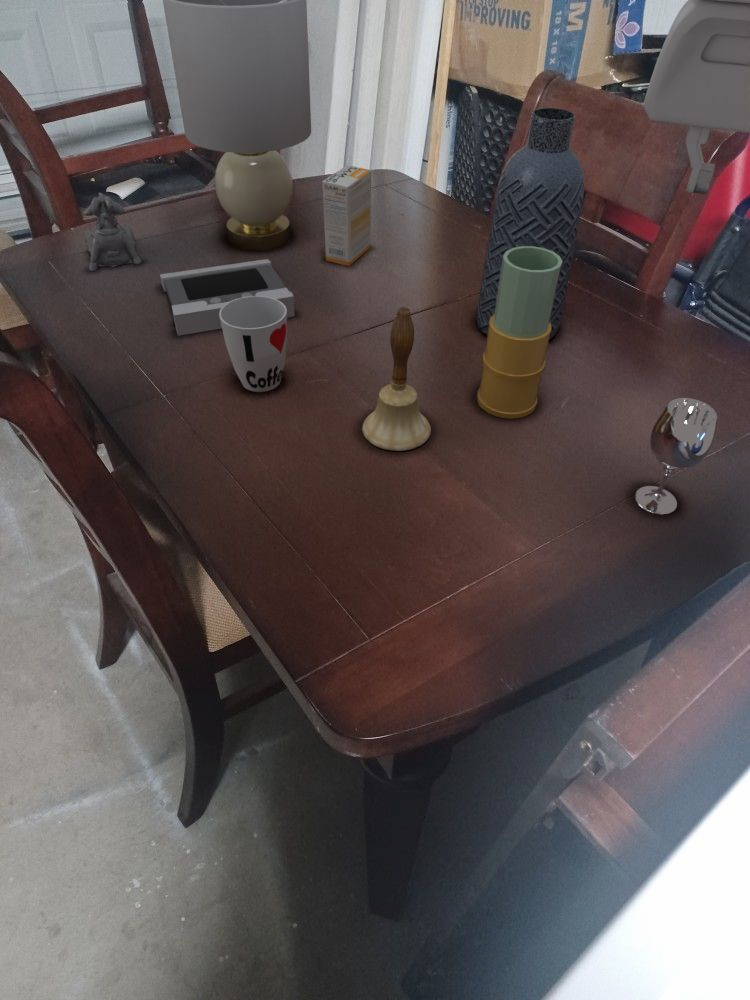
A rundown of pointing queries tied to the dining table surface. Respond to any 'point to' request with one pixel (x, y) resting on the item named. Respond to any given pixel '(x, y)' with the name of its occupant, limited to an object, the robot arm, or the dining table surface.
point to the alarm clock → (220, 292)
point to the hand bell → (398, 398)
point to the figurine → (109, 235)
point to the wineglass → (677, 447)
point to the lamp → (245, 103)
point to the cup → (256, 340)
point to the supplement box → (347, 214)
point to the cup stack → (511, 373)
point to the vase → (536, 207)
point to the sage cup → (526, 291)
